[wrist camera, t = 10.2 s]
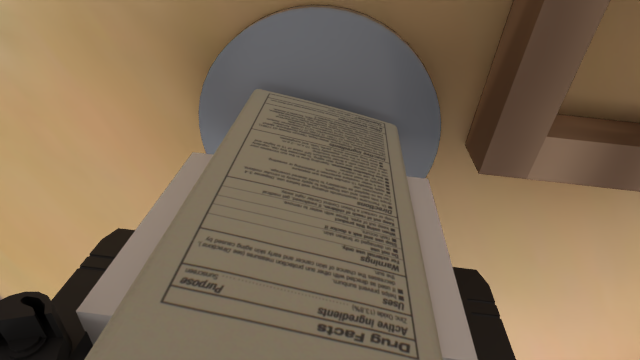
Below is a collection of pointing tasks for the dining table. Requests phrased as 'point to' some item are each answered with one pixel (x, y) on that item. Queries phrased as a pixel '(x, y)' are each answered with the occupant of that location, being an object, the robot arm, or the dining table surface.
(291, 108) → the skincare box
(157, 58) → the dining table surface
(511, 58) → the pocket holder
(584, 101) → the dining table surface
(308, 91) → the coaster
